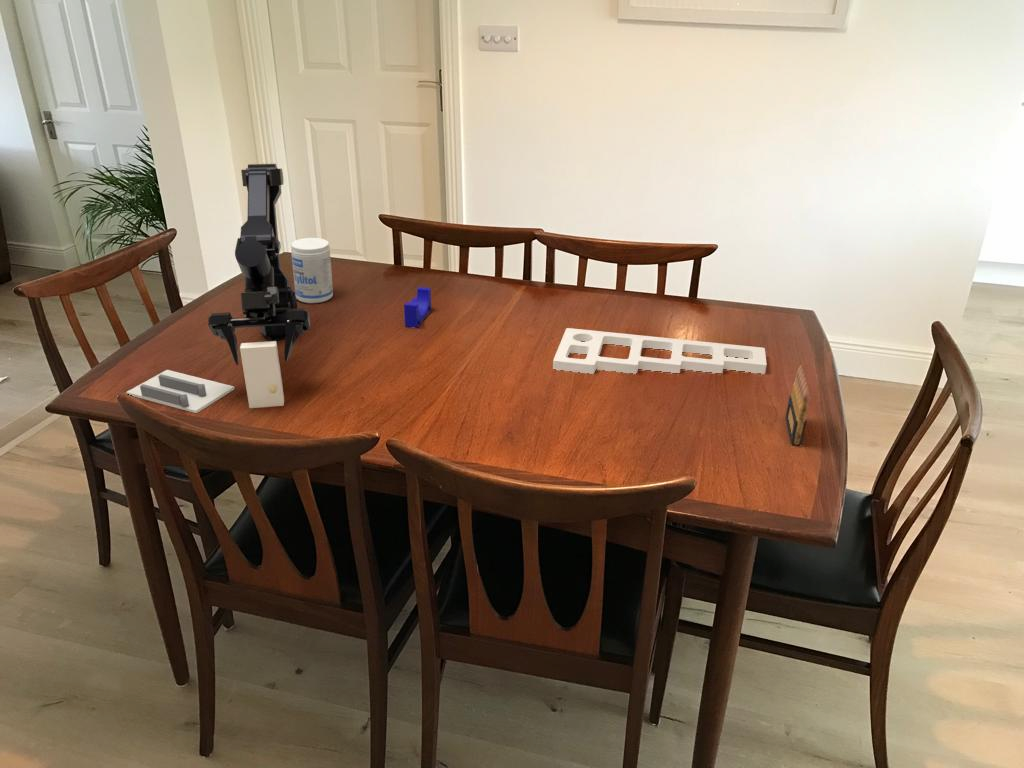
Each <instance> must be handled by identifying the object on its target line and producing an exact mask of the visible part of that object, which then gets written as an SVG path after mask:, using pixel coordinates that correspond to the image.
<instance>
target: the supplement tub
mask: <svg viewBox="0 0 1024 768" xmlns="http://www.w3.org/2000/svg"><path fill="white" fill-rule="evenodd" d="M290 246H291V252H290V253H291V254H290V255H291V263H292V272H293V273H292V275H293V283H294V284H293V285H294V292H295V295H296V299H297V301H300V302H301V303H305V304H319V303H324V302H327V301H329V300H331V299H332V298H333V295H334V288H333V275H332V273H333V272H332V259H331V249H330V243H329V241H328V240H327V239H324V238H319V237H305V238H299V239H296V240H294V241H293V242H292V243H291V245H290Z"/></svg>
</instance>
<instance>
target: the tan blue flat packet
mask: <svg viewBox="0 0 1024 768" xmlns="http://www.w3.org/2000/svg"><path fill="white" fill-rule="evenodd" d="M809 389H810V388H809V386H808V381H807V378H806V374H805V370H804V367H803V364H800V365H799V367H798V369H797V372H796V374H795V377H794V381H793V385H792V388H791V394H790V395H789V397H788V402H787V406H786V412H785V423H786V422H787V423H786V427H787V428H786V429H787V433H788V432H789V433H788V437H790V438H789V442H790V441H791V443H790V445H791V444H792V445H791V446H794V445H802V446H803V440H804V435H805V430H806V425H807V414H808V405H809V399H810V390H809Z"/></svg>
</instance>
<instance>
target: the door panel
mask: <svg viewBox="0 0 1024 768" xmlns="http://www.w3.org/2000/svg"><path fill="white" fill-rule="evenodd" d="M239 351H240V357H241V364H242V368H243V370H242V371H243V376H244V380H245V381H244V382H245V388H246V389H245V390H246V394H247V400H248V408H249V409H255V408H256V409H257V408H270V407H271V408H272V407H283V406H284V405H285V395H284V389H283V379H282V372H281V365H280V359H279V351H278V345H277V340H275V341H271V340H270V341H269V340H268V341H255V342H242V343H240V346H239Z"/></svg>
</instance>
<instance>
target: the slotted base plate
mask: <svg viewBox="0 0 1024 768" xmlns="http://www.w3.org/2000/svg"><path fill="white" fill-rule="evenodd" d="M234 390H235V386H233V385H230V384H225V383H221V382H218V381H214V380H209V379H205V378H201V377H198V376H194V375H189V374H187V373H186V374H185V373H182V372H178V371H174V370H170V369H166V370H164V371H162V372H160V373H158V374H157V375H155V376H153V377H151V378H149V379H148V380H145V381H144V382H142V383H140V384H138V385H136V386H134V387H132V389H129V390H127V391H126V392H125V393H126V395H127V394H129V395H128V396H130V395H132V396H131V397H135V398H137V399H142V400H146V401H150V402H153V403H157V404H160V405H163V406H168V407H172V408H175V409H179V410H183V411H186V412H190V413H194V414H197V413H199V412H201V411H203V410H204V409H205V408H207V407H209V406H210V405H212V404H214V403H215V402H217V401H219V400H220V399H221V398H223V397H225V396H226V395H228V394H229V393H231V392H233V391H234Z"/></svg>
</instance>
